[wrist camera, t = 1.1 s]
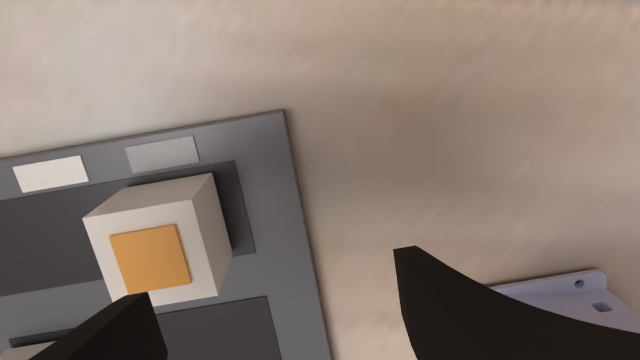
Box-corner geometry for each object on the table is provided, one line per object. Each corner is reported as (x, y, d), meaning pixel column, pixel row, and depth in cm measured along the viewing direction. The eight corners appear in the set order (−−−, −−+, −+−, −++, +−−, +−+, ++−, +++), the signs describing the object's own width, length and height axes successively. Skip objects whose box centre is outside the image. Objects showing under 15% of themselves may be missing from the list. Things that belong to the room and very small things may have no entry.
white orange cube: (212, 172, 18) (190, 201, 15) (232, 253, 19) (217, 298, 16) (122, 188, 18) (79, 220, 15) (148, 268, 19) (114, 315, 16)
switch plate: (283, 108, 19) (282, 112, 18) (334, 372, 24) (336, 389, 22) (-98, 175, 19) (-125, 184, 18) (23, 424, 24) (8, 444, 23)
